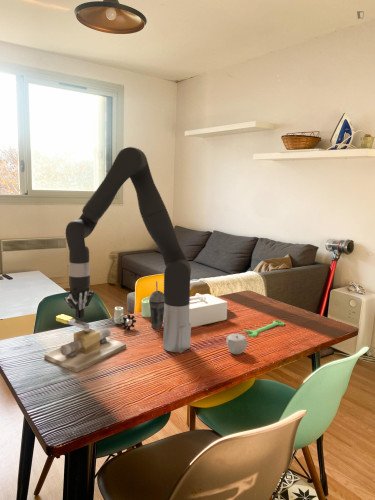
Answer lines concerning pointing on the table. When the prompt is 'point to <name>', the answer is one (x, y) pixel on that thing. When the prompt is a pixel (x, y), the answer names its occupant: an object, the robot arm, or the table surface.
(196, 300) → the tissue box
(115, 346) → the pipe board
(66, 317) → the valve lever
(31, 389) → the table surface
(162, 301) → the beverage cup
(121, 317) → the valve
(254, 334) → the wrench
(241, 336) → the apple
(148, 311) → the candle
